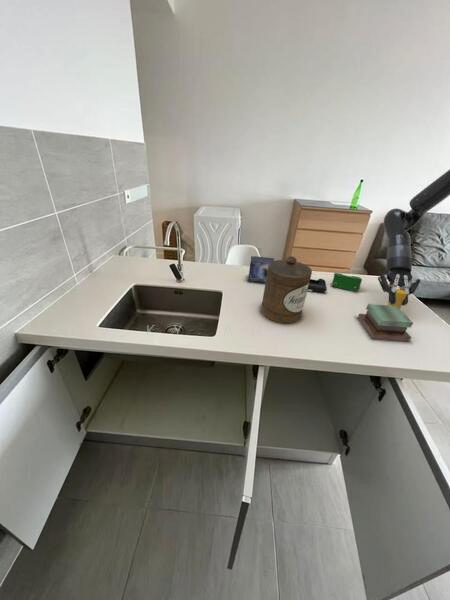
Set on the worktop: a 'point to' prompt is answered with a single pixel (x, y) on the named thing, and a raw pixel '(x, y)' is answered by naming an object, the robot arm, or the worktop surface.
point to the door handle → (317, 285)
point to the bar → (399, 298)
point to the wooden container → (285, 290)
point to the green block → (346, 282)
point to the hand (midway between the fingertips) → (398, 304)
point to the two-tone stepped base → (386, 323)
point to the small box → (259, 269)
